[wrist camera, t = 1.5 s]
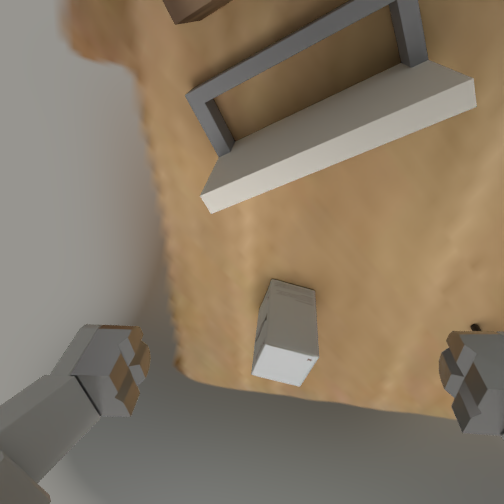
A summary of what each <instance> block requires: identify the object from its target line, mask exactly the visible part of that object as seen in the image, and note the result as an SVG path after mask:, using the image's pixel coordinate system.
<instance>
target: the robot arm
mask: <svg viewBox="0 0 504 504" xmlns="http://www.w3.org/2000/svg"><path fill="white" fill-rule="evenodd" d="M142 337H143V333H142V330H141V328H140V327H138V326H120V325H90V324H89V325H88V324H86V325H84V326H83V327H82V328H80V330H79V331H78V332H77V334H76V336H75V337H74V339H73V340H72V342H71V343H70V345H69V346H68V348H67V349H66V351H65V352H64V354H63V356H62V357H61V359H60V360H59V362H58V363H57V365H56V366H55V368H54V369H53V371H52V372H51V374H50V375H44V376H42V377H41V378H39V379H38V380H37V381H35V382H34V383H32V384H31V385H30V386H28V387H26V388H25V389H24V390H22V391H21V392H20V393H18V394H17V395H15V396H14V397H12V398H11V399H9V400H8V401H6V402H5V403H4V404H2V405H1V406H0V504H50V502H51V500H50V495H49V494H48V493H47V492H46V491H45V490H44V489H43V488H41V487H40V486H39V485H38V484H37V483H38V482H39V481H40V480H41V479H42V478H43V477H44V476H45V475H46V474H47V473H48V472H49V471H50V470H51V469H52V468H53V467H54V466H55V465H56V464H57V462H58V461H60V459H62V458H63V457H64V456H65V454H66V453H67V452H68V451H69V450H70V449H71V448H72V447H73V446H74V445H75V444H76V443H77V442H78V441H79V440H80V439H81V438H82V437H83V436H84V435H85V434H86V433H87V432H88V431H89V430H90V429H91V428H92V426H94V425H95V423H97V421H98V420H99V419H100V418H101V417H100V416H118V417H131V415H132V412H133V410H134V408H135V405H136V402H137V400H138V397H139V394H140V392H139V389H138V385H139V384H140V383H141V382H142V381H144V380H145V379H146V376H147V373H148V370H149V366H150V351H149V348H148V345H146V344H145V343H144V342H142V341H141V339H142ZM446 342H447V344H448V346H449V348H448V349H446V350H444V351H443V352H442V353H441V356H440V359H439V374H440V378H441V382H442V384H443V387H444V389H445V390H446V391H447V392H448V393H449V394H451V395H452V396H453V397H454V401H453V403H452V409H453V411H454V414H455V416H456V418H457V421H458V423H459V426H460V428H461V431H462V433H468V434H482V435H495V436H502V437H501V438H502V439H503V440H504V332H494V331H452V332H451V333H450V334H449V335H448V338H447V340H446Z"/></svg>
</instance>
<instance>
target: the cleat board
mask: <svg viewBox="0 0 504 504" xmlns="http://www.w3.org/2000/svg"><path fill="white" fill-rule="evenodd" d="M388 4H389V9H390V13H391V18H392V22H393V27H394V32H395V36H396V41H397V45H398V50H399V54H400V59H401V63H400V64H397V65H395V66H393V67H391V68H389V69H387V70H385V71H383V72H381V73H379V74H376V75H374V76H372V77H370V78H368V79H366V80H364V81H362V82H360V83H357V84H355V85H353V86H351V87H349V88H347V89H345V90H343V91H341V92H338V93H336V94H334V95H332V96H330V97H328V98H326V99H324V100H322V101H320V102H317V103H315V104H313V105H311V106H309V107H307V108H305V109H303V110H301V111H298V112H296V113H294V114H292V115H290V116H288V117H286V118H284V119H282V120H279V121H277V122H275V123H273V124H271V125H269V126H267V127H265V128H263V129H261V130H258V131H256V132H254V133H252V134H250V135H248V136H246V137H244V138H242V139H239V140H237V141H235V140H234V139H233V137H232V135H231V133H230V131H229V129H228V127H227V125H226V123H225V121H224V119H223V117H222V115H221V113H220V111H219V109H218V107H217V105H216V103H215V102H214V100H213V98H215V97H217V96H218V95H220V94H222V93H224V92H226V91H228V90H230V89H232V88H233V87H235V86H237V85H239V84H241V83H243V82H245V81H246V80H248V79H250V78H252V77H254V76H256V75H258V74H259V73H261V72H263V71H265V70H267V69H269V68H271V67H273V66H274V65H276V64H278V63H280V62H282V61H284V60H286V59H287V58H289V57H291V56H293V55H295V54H297V53H299V52H300V51H302V50H304V49H306V48H308V47H310V46H312V45H313V44H315V43H317V42H319V41H321V40H323V39H325V38H327V37H328V36H330V35H332V34H334V33H336V32H338V31H340V30H341V29H343V28H345V27H347V26H349V25H351V24H353V23H354V22H356V21H358V20H360V19H362V18H364V17H366V16H368V15H369V14H371V13H373V12H375V11H377V10H379V9H381V8H382V7H384V6H386V5H388ZM185 97H186V99H187V100H188V102H189V104H190V106H191V108H192V109H193V111H194V113H195V115H196V117H197V118H198V120H199V122H200V124H201V126H202V128H203V129H204V131H205V133H206V135H207V137H208V138H209V140H210V142H211V144H212V146H213V147H214V149H215V151H216V153H217V155H218V156H219V158H218V160H217V162H216V164H215V166H214V168H213V171H212V173H211V175H210V177H209V179H208V181H207V183H206V185H205V187H204V189H203V191H202V193H201V195H200V197H201V198H202V200H203V201H204V203H205V205H206V206H207V208H208V209H209V211H210V213H211V214H212V213H215V212H217V211H220V210H222V209H225V208H227V207H230V206H232V205H235V204H237V203H240V202H242V201H245V200H247V199H249V198H252V197H254V196H257V195H259V194H262V193H264V192H267V191H269V190H272V189H274V188H277V187H279V186H282V185H284V184H287V183H289V182H292V181H294V180H297V179H299V178H302V177H304V176H306V175H309V174H311V173H314V172H316V171H319V170H321V169H324V168H326V167H329V166H331V165H334V164H336V163H339V162H341V161H344V160H346V159H349V158H351V157H354V156H356V155H359V154H361V153H363V152H366V151H368V150H371V149H373V148H376V147H378V146H381V145H383V144H386V143H388V142H391V141H393V140H396V139H398V138H401V137H403V136H406V135H408V134H411V133H413V132H415V131H418V130H420V129H423V128H425V127H428V126H430V125H433V124H435V123H438V122H440V121H443V120H445V119H448V118H450V117H453V116H455V115H458V114H460V113H463V112H465V111H468V110H470V109H472V108H475V107H477V104H476V96H475V87H474V79H473V78H471V77H469V76H467V75H464V74H462V73H459V72H457V71H454V70H452V69H450V68H447V67H445V66H442V65H440V64H437V63H435V62H433V61H430V60H428V54H427V49H426V43H425V38H424V32H423V26H422V21H421V15H420V10H419V4H418V0H350V1H348V2H346V3H344V4H342V5H341V6H339V7H337V8H335V9H334V10H332V11H330V12H328V13H326V14H325V15H323V16H321V17H319V18H318V19H316V20H314V21H312V22H310V23H309V24H307V25H305V26H303V27H301V28H300V29H298V30H296V31H294V32H293V33H291V34H289V35H287V36H285V37H284V38H282V39H280V40H278V41H277V42H275V43H273V44H271V45H269V46H268V47H266V48H264V49H262V50H261V51H259V52H257V53H255V54H253V55H252V56H250V57H248V58H246V59H244V60H243V61H241V62H239V63H237V64H236V65H234V66H232V67H230V68H228V69H227V70H225V71H223V72H221V73H220V74H218V75H216V76H214V77H212V78H211V79H209V80H207V81H205V82H204V83H202V84H200V85H198V86H196V87H195V88H193V89H192V90H190V91H189V92H188V93H187V94H186V95H185Z"/></svg>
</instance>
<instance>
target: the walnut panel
mask: <svg viewBox="0 0 504 504" xmlns="http://www.w3.org/2000/svg"><path fill="white" fill-rule="evenodd" d="M230 1H232V0H163V2H164V4H165V6H166V8H167V10H168V12H169V14H170V16H171V18H172V20H173V22H174V24H182V23H188V22H194V21H200V20H202V19H204V18H205V17H207V16H208V15H210V14H212V13H213V12H215V11H216V10H218V9H219V8H221V7H223V6H224V5H226V4H227V3H229V2H230Z"/></svg>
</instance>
